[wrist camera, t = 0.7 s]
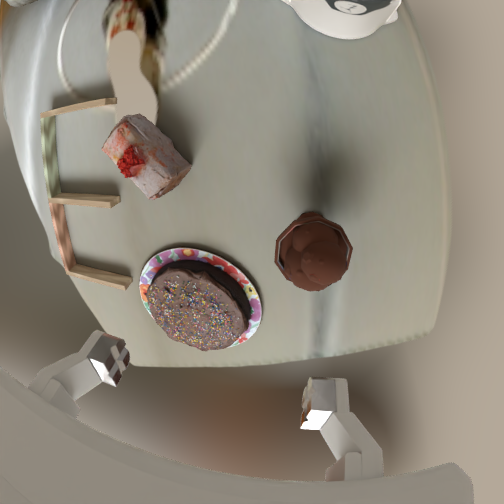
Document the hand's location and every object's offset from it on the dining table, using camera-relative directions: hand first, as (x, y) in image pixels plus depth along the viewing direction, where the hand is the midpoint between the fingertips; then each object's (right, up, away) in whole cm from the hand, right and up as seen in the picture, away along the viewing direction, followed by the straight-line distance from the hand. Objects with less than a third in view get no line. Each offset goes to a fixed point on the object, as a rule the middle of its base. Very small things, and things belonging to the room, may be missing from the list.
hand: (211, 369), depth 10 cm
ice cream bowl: (+12, +9, +35) cm, 38 cm away
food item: (-14, +22, +32) cm, 41 cm away
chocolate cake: (-10, -6, +47) cm, 49 cm away
